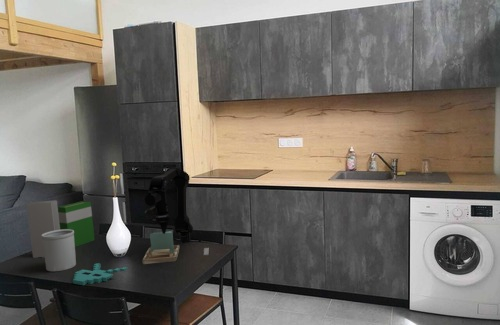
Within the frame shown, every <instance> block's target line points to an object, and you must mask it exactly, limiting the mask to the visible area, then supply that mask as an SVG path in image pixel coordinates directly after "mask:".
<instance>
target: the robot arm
mask: <svg viewBox="0 0 500 325" xmlns="http://www.w3.org/2000/svg"><path fill="white" fill-rule="evenodd" d="M190 179H191V178H190V175H189V174H188V172H186V171H185V170H182V169H181V168H180V167H171V168H170V169H168V170H167V171H166V172H164V173H163V174H161V175H155V176H154V177H152V178H151V179H150V183H149V187H148V189H147V190H148V192H147V194H146V195H145V197H144V203H145V204H146V205H147V206H149V208H147V209H146V210H145V211H144V214H145V216H146V218H147V219H149V218H150V217H152V216H155V221H156V223H157V224H158V225H159V226H160V229H161V232H162V233H163V234H165V232H167V228H168V225H169V222H170V217H169V211H168V203H167V202H168V201H167V192H168V189H167V187H168V185H169V182H170V181H171V180H172V181H173V184H174V186H175V187H176V190H177V191H176V192H177V197H176V198H177V215H176V216H175V217H174V219H173V221H174V225H173V227H174V231H175V234H179V242H180V243H181V244H187V243H190V242H191V241H192V239H191V233H193V232H194V227H193V225H192V224H191V222H190V218H189V216H188V213H187V188H188V186H189V185H190Z"/></svg>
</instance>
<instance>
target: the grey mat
mask: <svg viewBox="0 0 500 325" xmlns="http://www.w3.org/2000/svg"><path fill="white" fill-rule="evenodd" d="M209 251H210V248H209V247H204V248H203V253H202V254H203V256H209V255H210V254H209V253H210V252H209Z"/></svg>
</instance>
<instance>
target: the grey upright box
mask: <svg viewBox="0 0 500 325" xmlns="http://www.w3.org/2000/svg"><path fill="white" fill-rule="evenodd" d="M58 207H59V206H58V200H42V201H41V200H40V201H32V202H30V203H26V212H27V219H28V220H27V221H28V228H29V236H30V243H31V244H30V245H31V253H32V258H33V259H38V257H42V258H45V256H44V248H43V240H42V237H41V235H42V234H44V233H47V232H50V231H55V230H60V224H59V215H58Z"/></svg>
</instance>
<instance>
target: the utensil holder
mask: <svg viewBox="0 0 500 325" xmlns="http://www.w3.org/2000/svg"><path fill="white" fill-rule="evenodd" d="M41 237H42V240H43V248H44V256H45V257H44V261H45V262H44V263H45V269H46V271H48V272H60V271H66V270H69V269H72V268H73V267H76V265H77V260H76V259H77V258H76V247H75V243H74V230H71V229H62V230H55V231H50V232H47V233H44V234H42V235H41Z"/></svg>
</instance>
